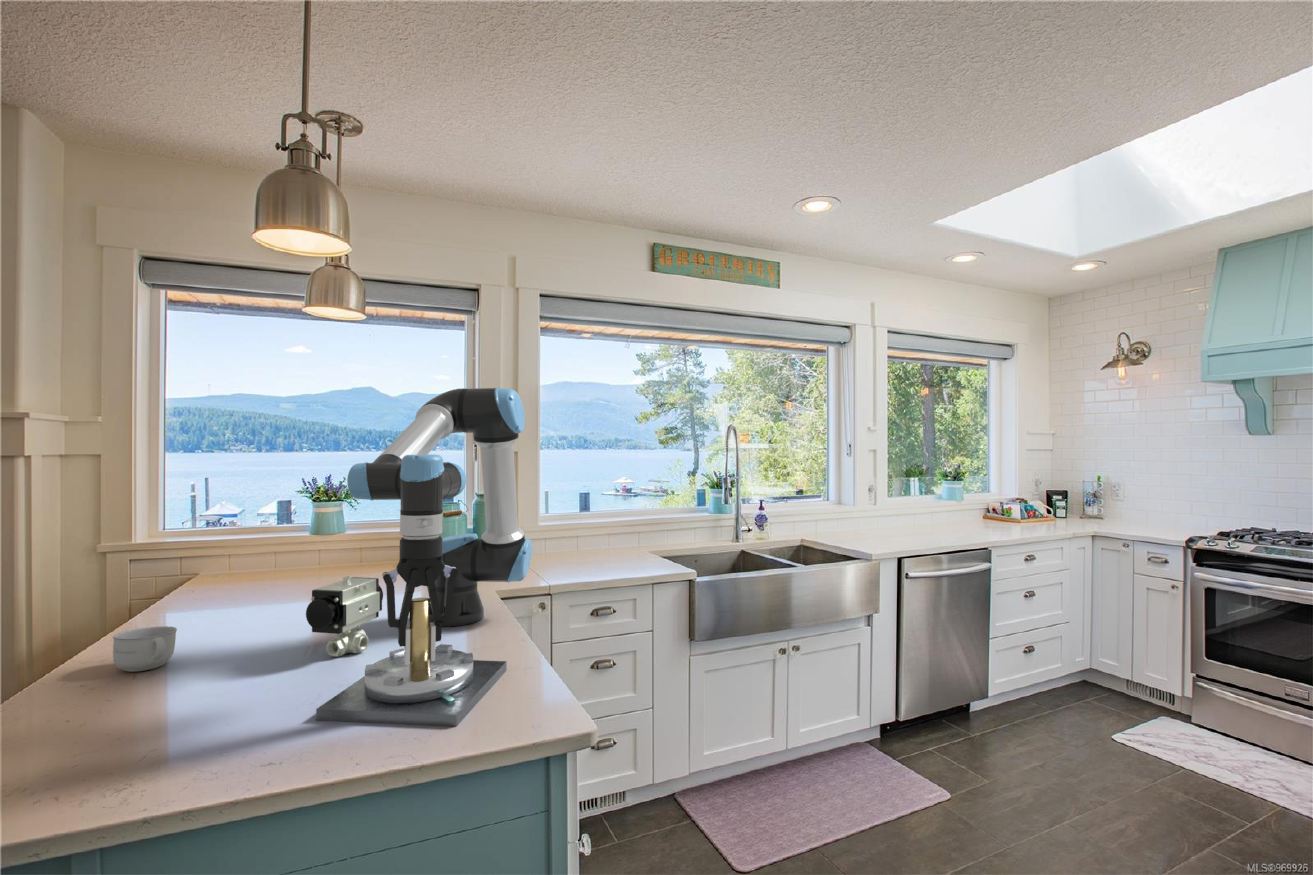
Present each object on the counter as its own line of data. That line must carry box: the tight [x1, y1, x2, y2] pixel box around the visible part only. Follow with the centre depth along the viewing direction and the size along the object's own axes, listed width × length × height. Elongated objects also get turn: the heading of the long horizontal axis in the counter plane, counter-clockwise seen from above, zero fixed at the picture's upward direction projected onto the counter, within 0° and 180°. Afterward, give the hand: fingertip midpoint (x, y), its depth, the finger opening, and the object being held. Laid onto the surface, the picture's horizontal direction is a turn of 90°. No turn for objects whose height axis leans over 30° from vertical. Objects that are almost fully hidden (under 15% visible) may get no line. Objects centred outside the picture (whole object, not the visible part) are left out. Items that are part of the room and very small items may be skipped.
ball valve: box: [305, 575, 384, 657], centre depth 145 cm, size 18×8×18 cm, turn 168°
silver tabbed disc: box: [364, 597, 474, 703], centre depth 122 cm, size 20×20×18 cm
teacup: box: [112, 625, 178, 673], centre depth 135 cm, size 14×11×8 cm
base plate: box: [315, 659, 508, 727], centre depth 122 cm, size 26×26×3 cm
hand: (419, 660), depth 116 cm, fingers open, 4 cm apart
